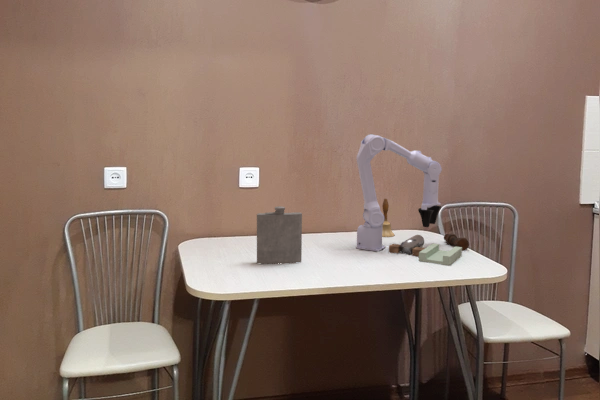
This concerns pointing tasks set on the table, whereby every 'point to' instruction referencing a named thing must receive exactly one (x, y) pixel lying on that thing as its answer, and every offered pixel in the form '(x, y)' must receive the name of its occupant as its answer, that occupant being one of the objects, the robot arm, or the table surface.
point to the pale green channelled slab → (439, 255)
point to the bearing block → (396, 249)
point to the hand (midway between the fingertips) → (429, 225)
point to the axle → (411, 244)
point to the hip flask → (279, 237)
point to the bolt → (456, 241)
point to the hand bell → (386, 225)
